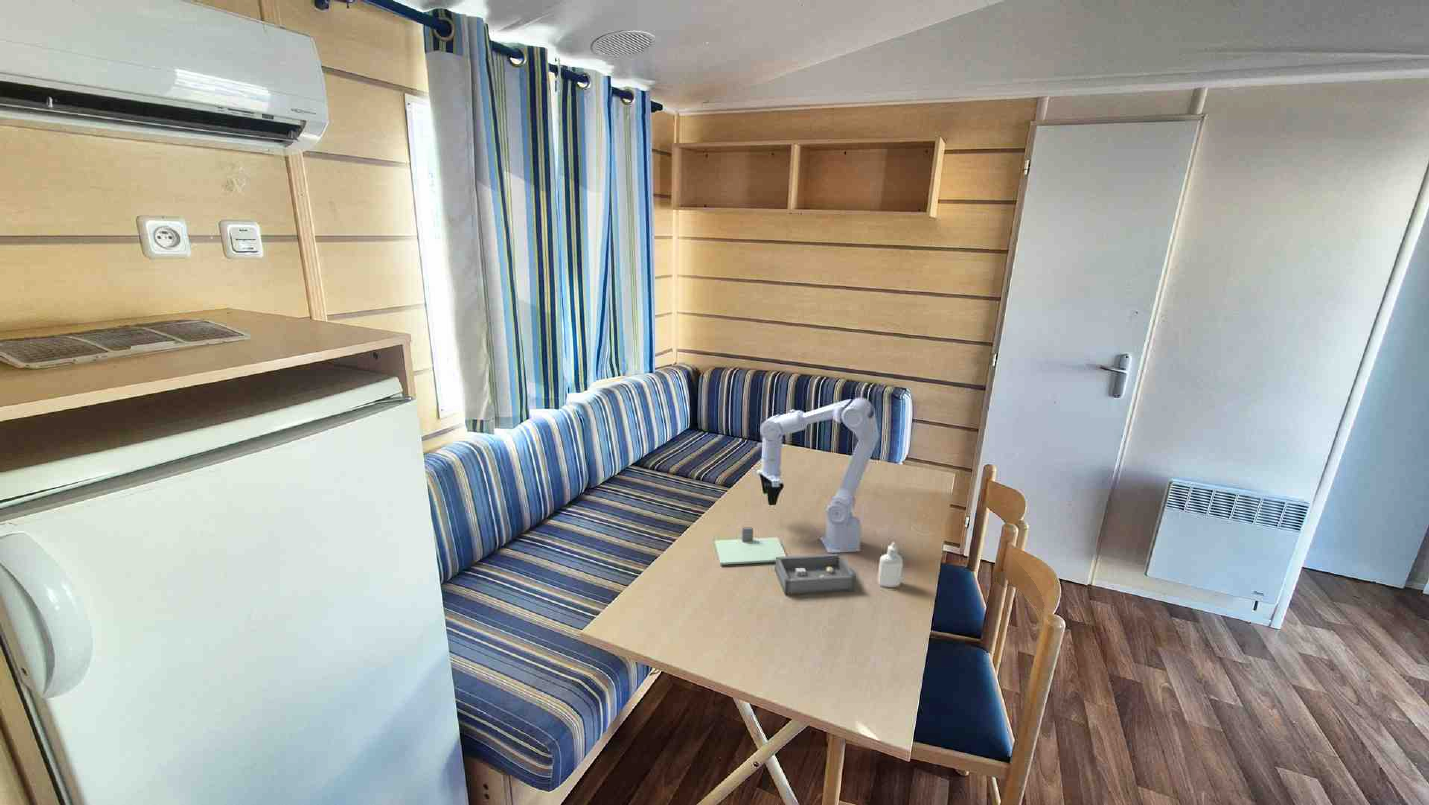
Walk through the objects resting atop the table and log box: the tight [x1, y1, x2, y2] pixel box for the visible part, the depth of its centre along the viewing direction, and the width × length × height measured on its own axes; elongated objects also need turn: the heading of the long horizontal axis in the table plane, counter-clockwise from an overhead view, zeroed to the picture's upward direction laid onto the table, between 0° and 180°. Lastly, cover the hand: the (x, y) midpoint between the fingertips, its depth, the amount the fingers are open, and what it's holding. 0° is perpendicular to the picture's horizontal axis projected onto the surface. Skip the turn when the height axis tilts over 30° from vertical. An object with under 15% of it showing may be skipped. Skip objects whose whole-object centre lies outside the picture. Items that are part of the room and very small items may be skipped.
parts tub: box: [774, 553, 856, 596], centre depth 149 cm, size 18×11×4 cm, turn 97°
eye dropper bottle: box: [877, 541, 904, 588], centre depth 147 cm, size 4×6×12 cm
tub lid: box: [714, 526, 787, 566], centre depth 161 cm, size 19×12×5 cm, turn 97°
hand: (769, 498), depth 173 cm, fingers open, 7 cm apart
